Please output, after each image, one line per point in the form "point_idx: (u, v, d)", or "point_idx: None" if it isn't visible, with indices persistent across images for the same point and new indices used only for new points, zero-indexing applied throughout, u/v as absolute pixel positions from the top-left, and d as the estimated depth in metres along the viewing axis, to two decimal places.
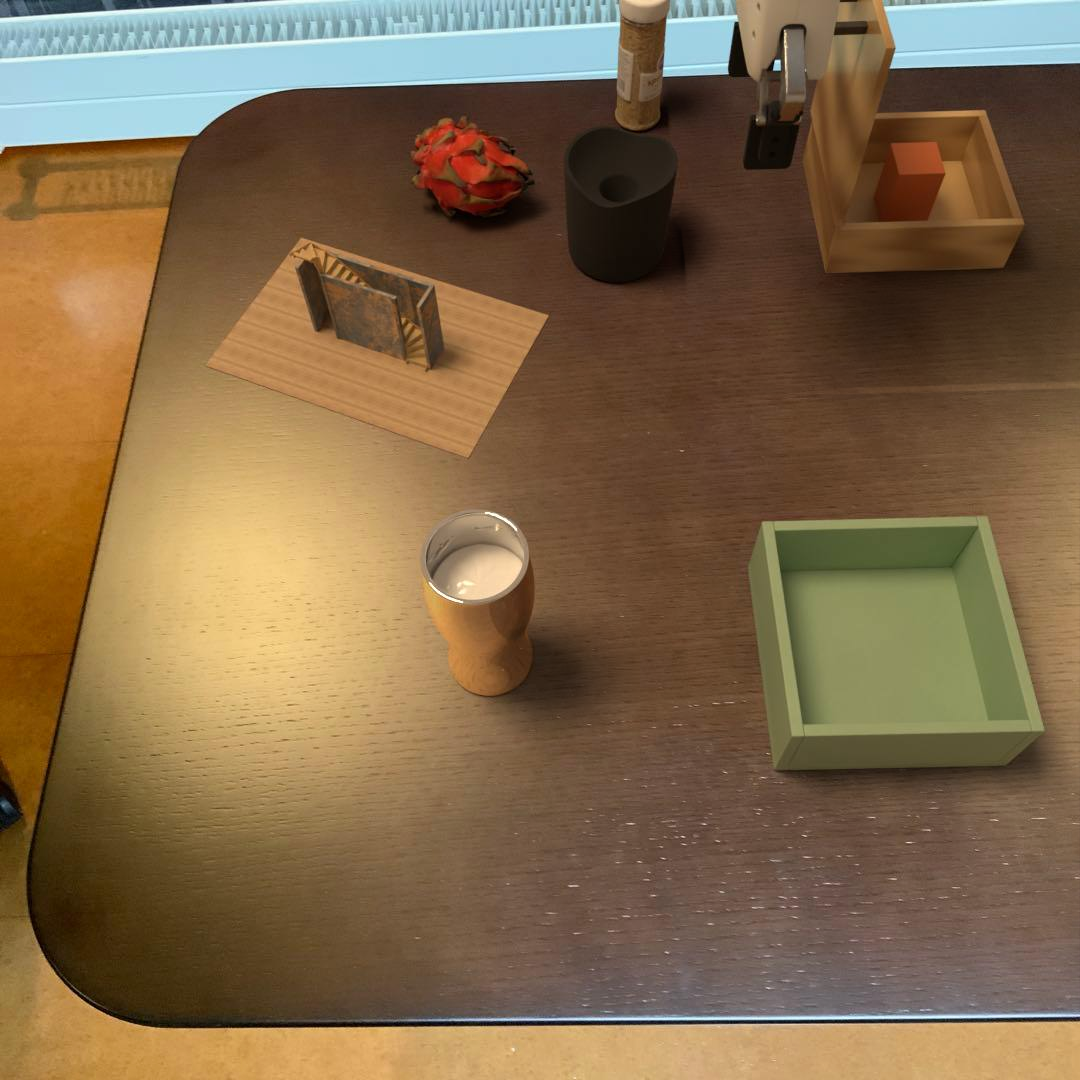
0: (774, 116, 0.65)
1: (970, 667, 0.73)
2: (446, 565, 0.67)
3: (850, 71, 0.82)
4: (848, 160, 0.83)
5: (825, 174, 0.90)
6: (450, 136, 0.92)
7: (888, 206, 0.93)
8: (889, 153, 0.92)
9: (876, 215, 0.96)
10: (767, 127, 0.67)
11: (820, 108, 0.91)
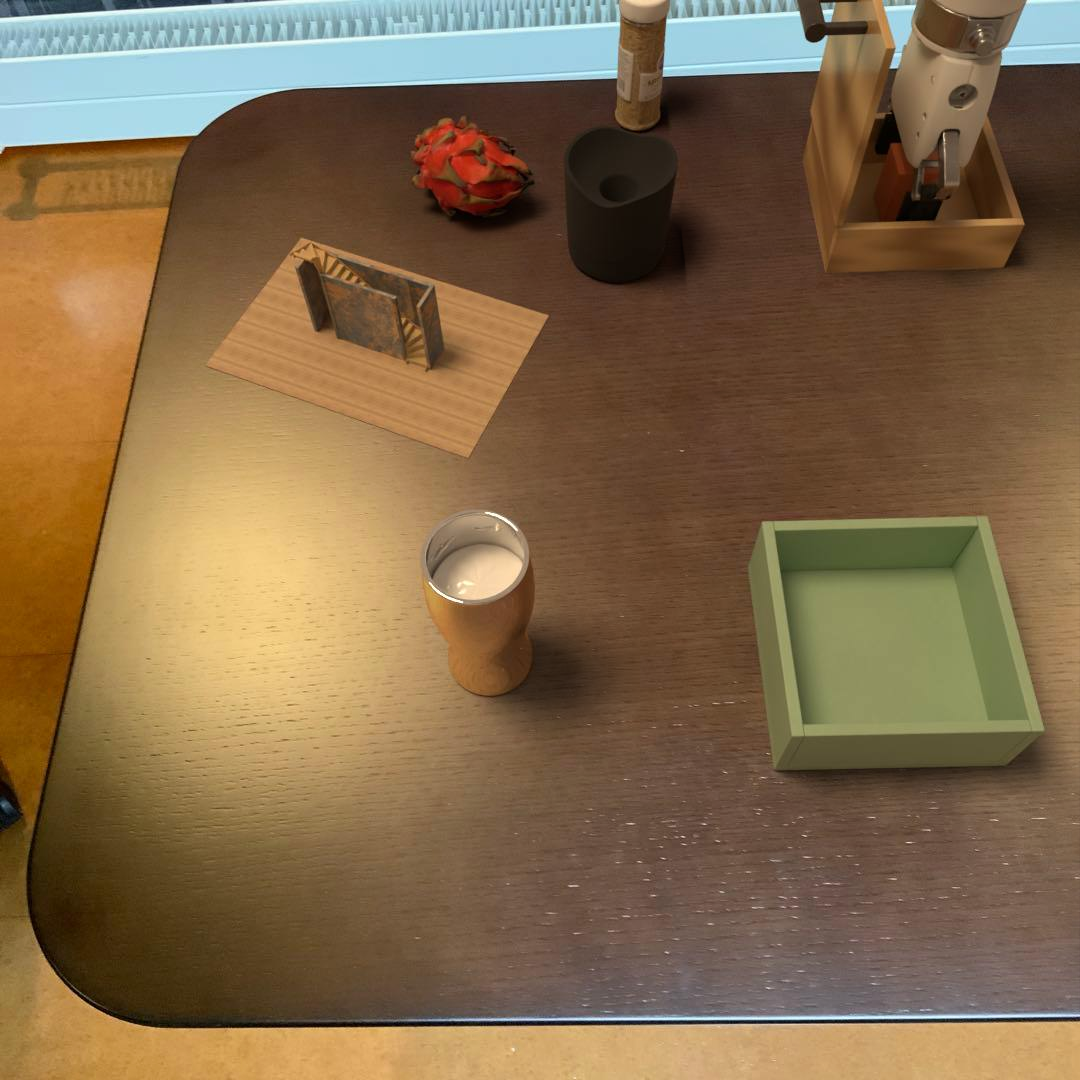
0: (930, 195, 0.85)
1: (970, 667, 0.73)
2: (446, 565, 0.67)
3: (850, 71, 0.82)
4: (848, 160, 0.83)
5: (825, 174, 0.90)
6: (450, 136, 0.92)
7: (888, 206, 0.93)
8: (889, 153, 0.92)
9: (876, 215, 0.96)
10: (920, 201, 0.87)
11: (820, 108, 0.91)
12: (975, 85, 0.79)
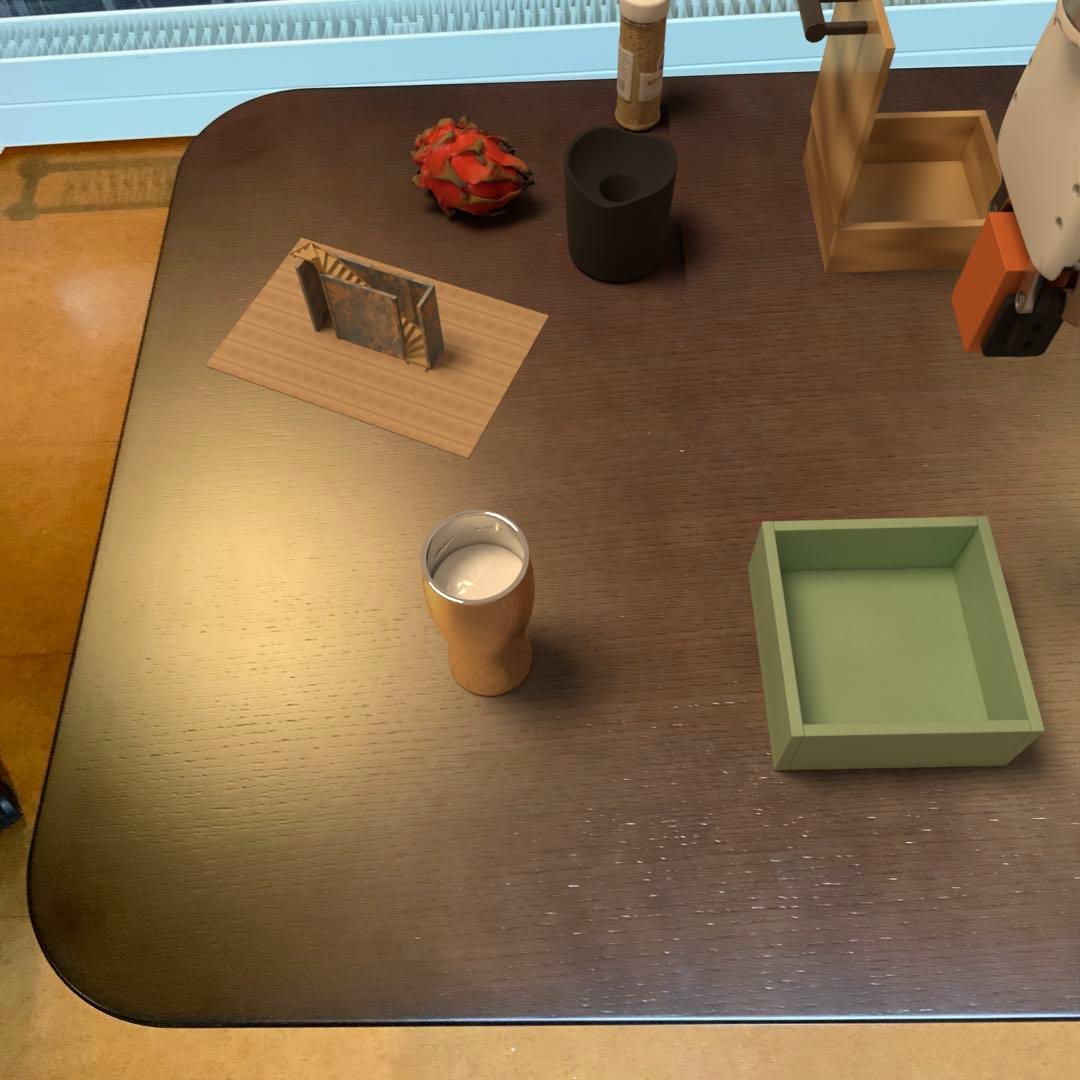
0: (1054, 309, 0.48)
1: (970, 667, 0.73)
2: (446, 565, 0.67)
3: (850, 71, 0.82)
4: (848, 160, 0.83)
5: (825, 174, 0.90)
6: (450, 136, 0.92)
7: (982, 320, 0.53)
8: (985, 229, 0.53)
9: (876, 215, 0.96)
10: (1031, 314, 0.51)
11: (820, 108, 0.91)
12: None
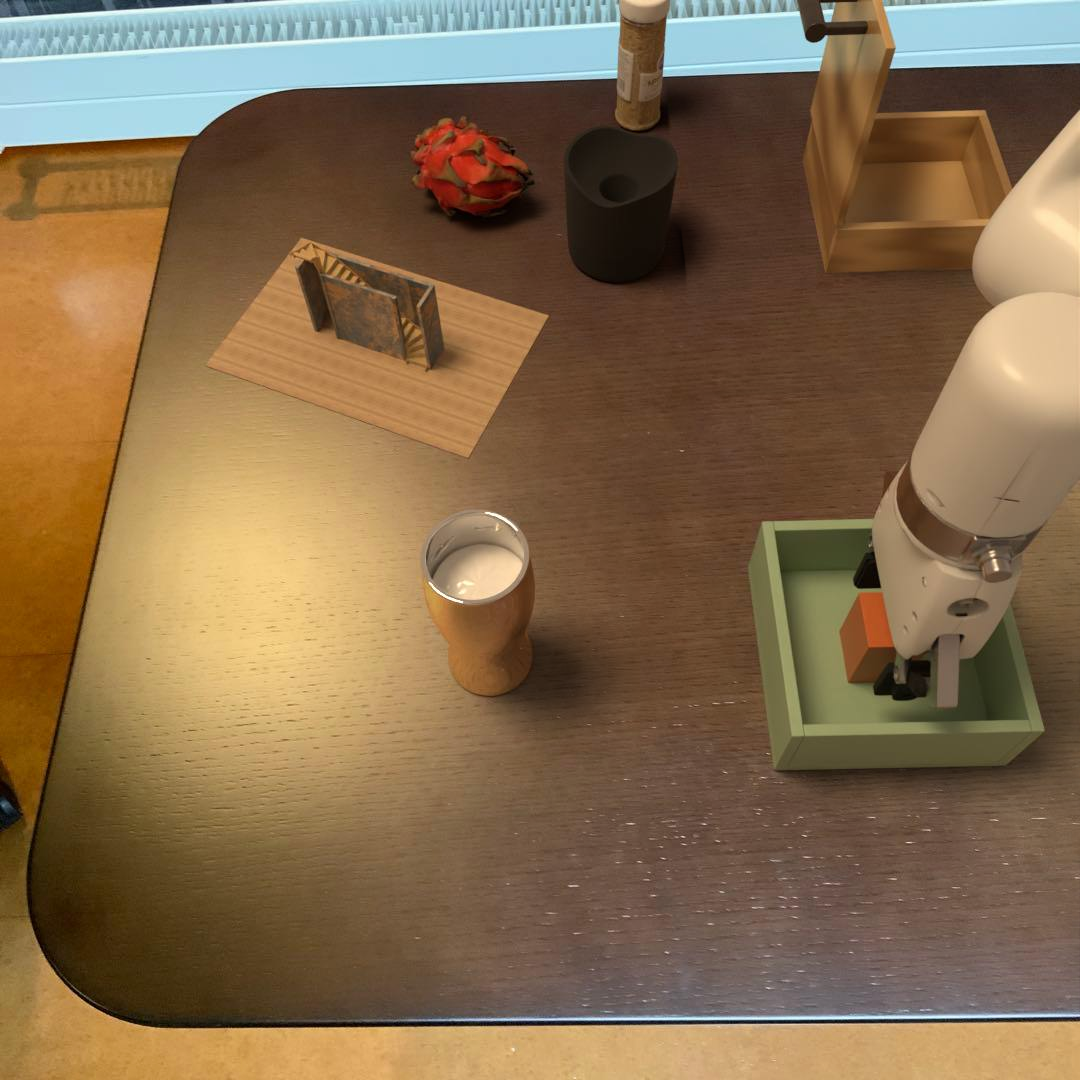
0: (918, 693, 0.62)
1: (970, 667, 0.73)
2: (446, 565, 0.67)
3: (850, 71, 0.82)
4: (848, 160, 0.83)
5: (825, 174, 0.90)
6: (450, 136, 0.92)
7: (856, 668, 0.71)
8: (857, 603, 0.70)
9: (876, 215, 0.96)
10: None
11: (820, 108, 0.91)
12: (985, 599, 0.56)
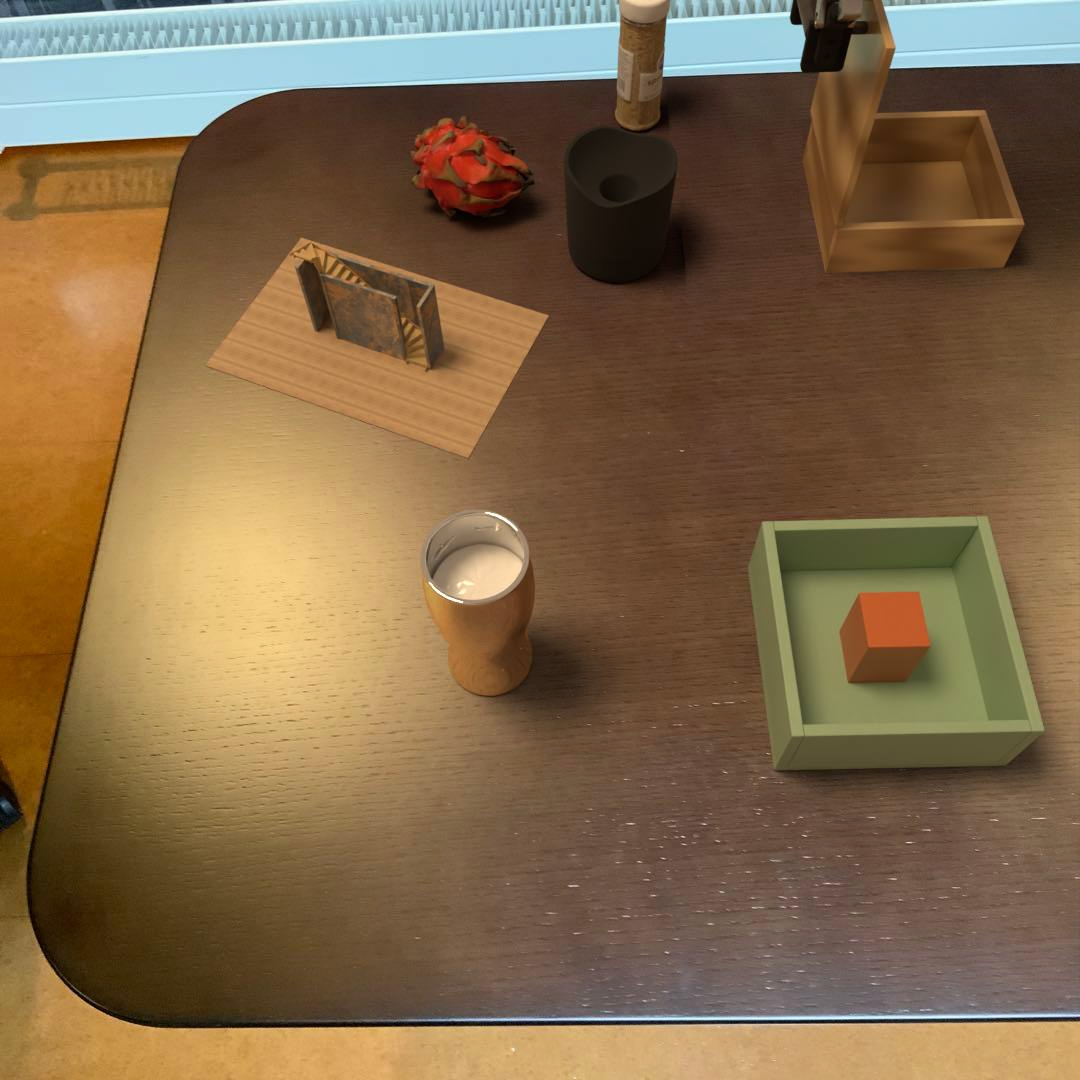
0: (832, 16, 0.73)
1: (970, 667, 0.73)
2: (446, 565, 0.67)
3: (850, 71, 0.82)
4: (848, 160, 0.83)
5: (825, 174, 0.90)
6: (450, 136, 0.92)
7: (856, 668, 0.71)
8: (857, 603, 0.70)
9: (876, 215, 0.96)
10: (824, 30, 0.76)
11: (820, 108, 0.91)
12: None
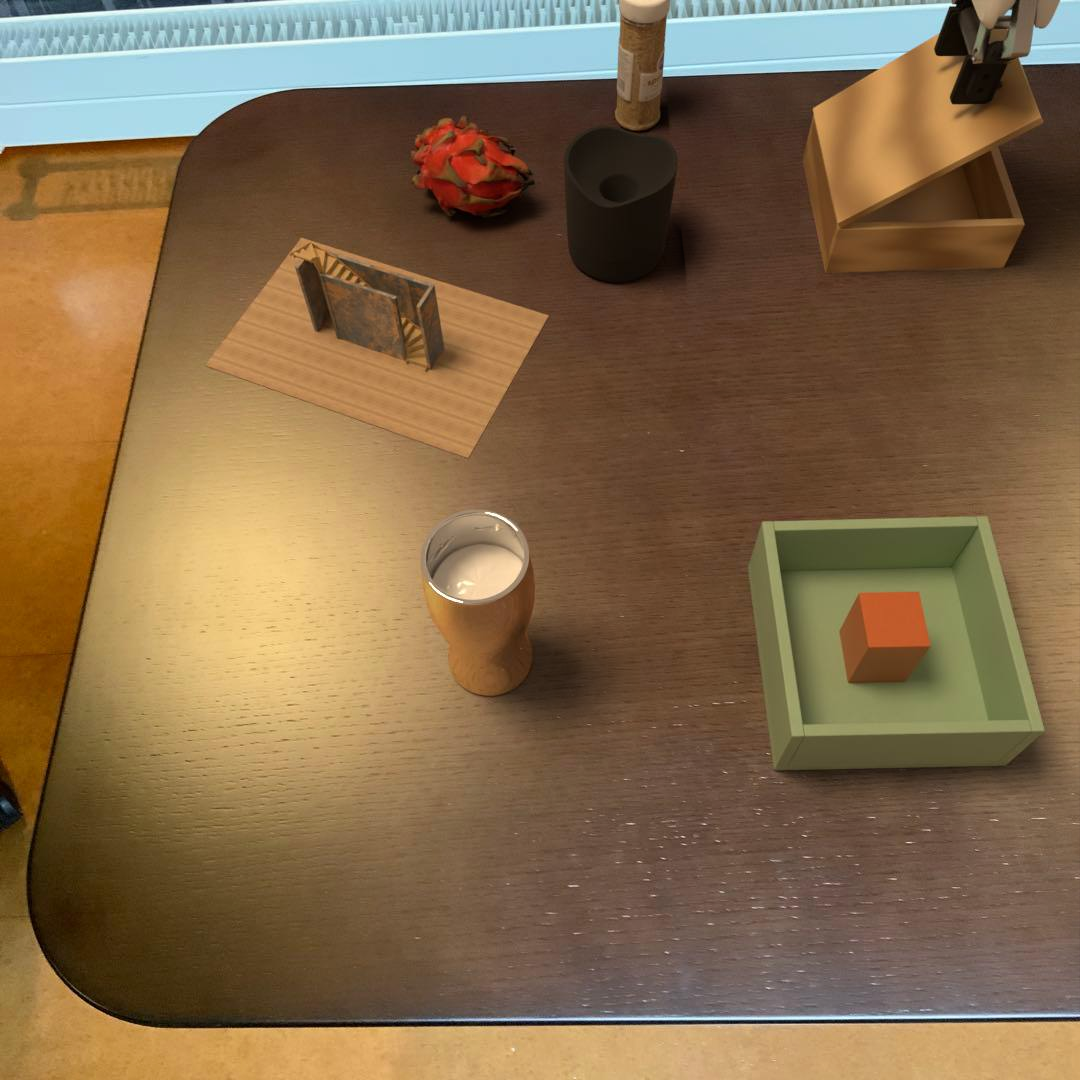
0: (996, 54, 0.76)
1: (970, 667, 0.73)
2: (446, 565, 0.67)
3: (939, 107, 0.85)
4: (901, 178, 0.85)
5: (830, 173, 0.90)
6: (450, 136, 0.92)
7: (856, 668, 0.71)
8: (857, 603, 0.70)
9: (876, 215, 0.96)
10: (982, 65, 0.79)
11: (843, 114, 0.92)
12: None
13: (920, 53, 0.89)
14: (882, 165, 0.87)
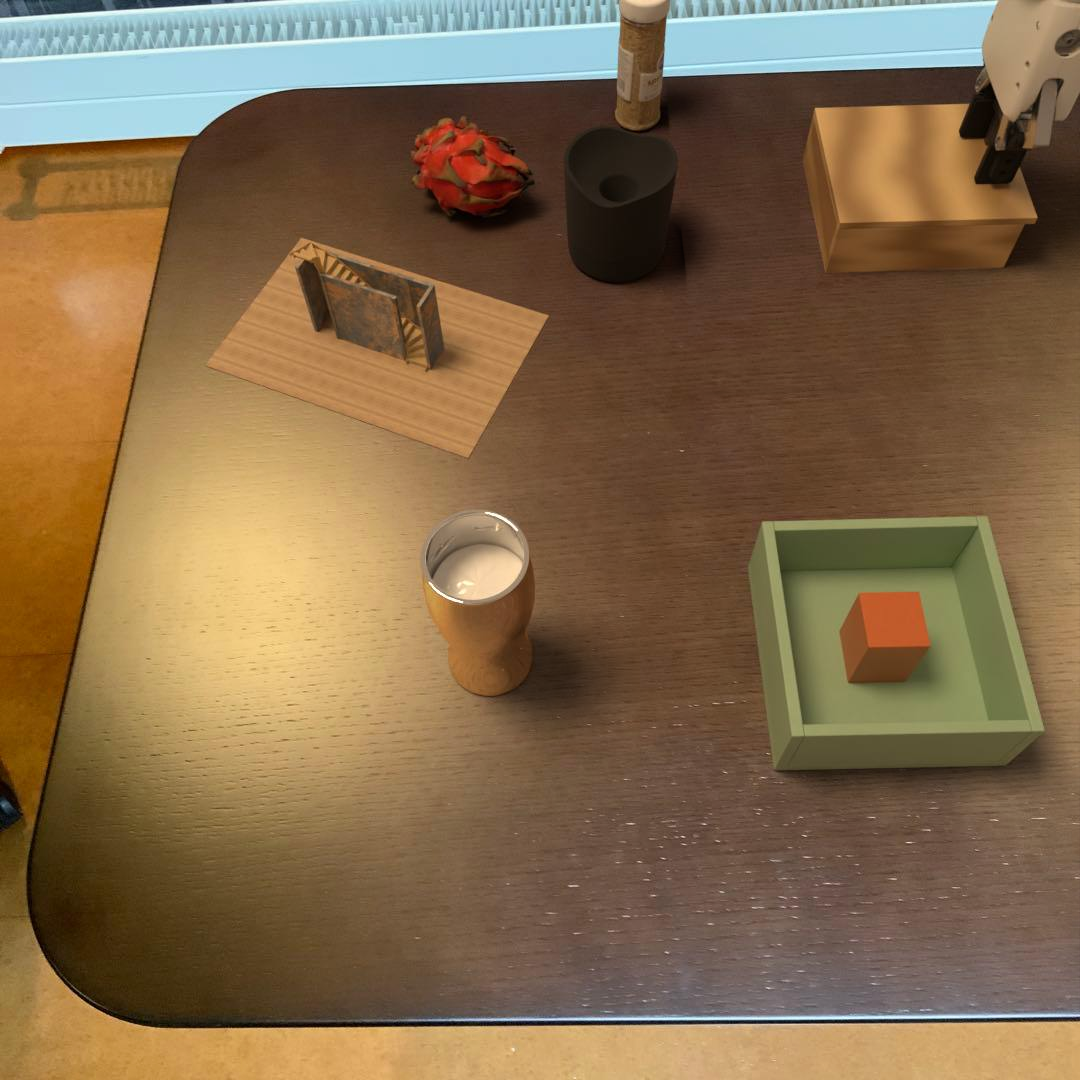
0: (1018, 143, 0.83)
1: (970, 667, 0.73)
2: (446, 565, 0.67)
3: (944, 166, 0.90)
4: (906, 210, 0.88)
5: (833, 174, 0.90)
6: (450, 136, 0.92)
7: (856, 668, 0.71)
8: (857, 603, 0.70)
9: None
10: (1004, 151, 0.85)
11: (847, 128, 0.93)
12: None
13: (926, 112, 0.94)
14: (887, 191, 0.89)
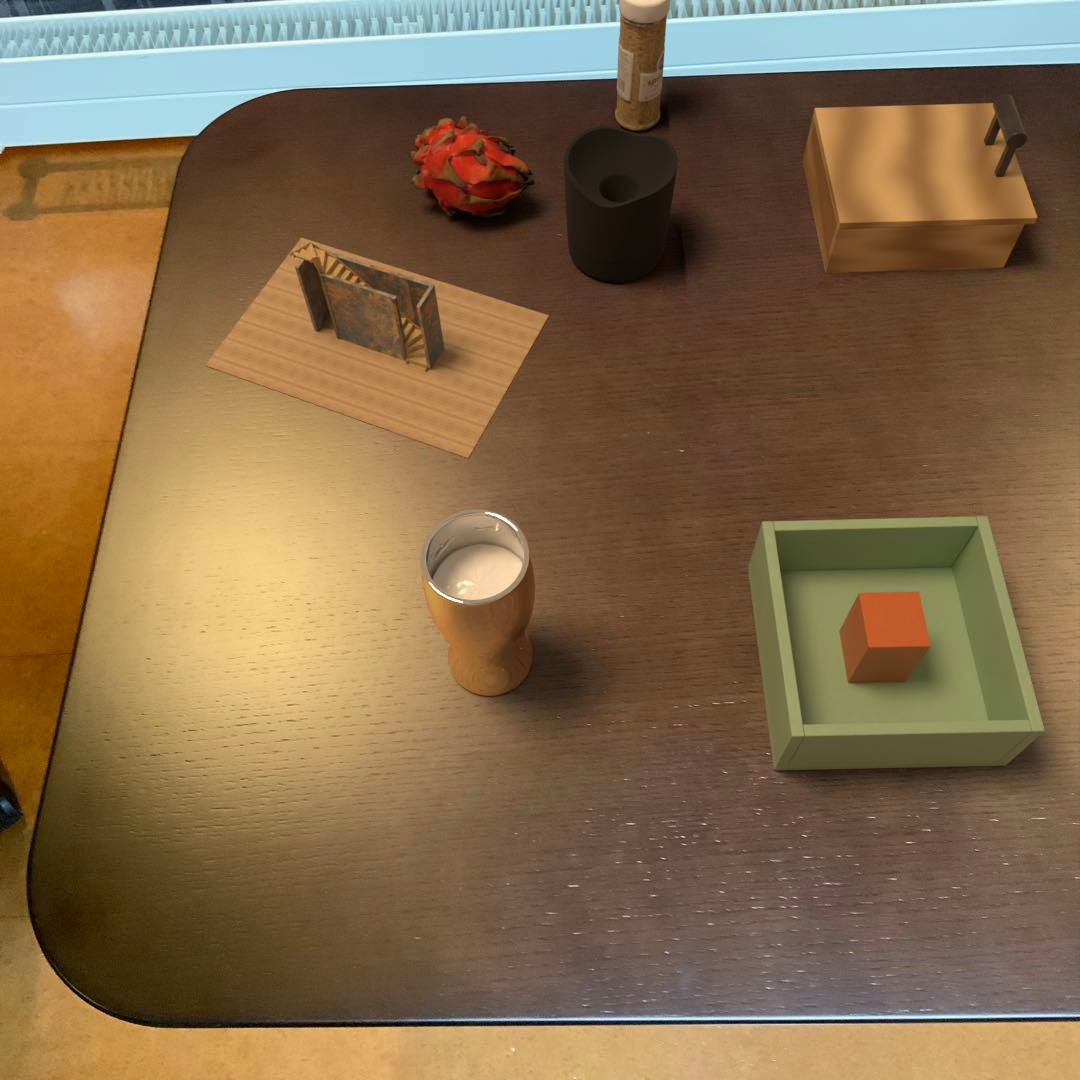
0: None
1: (970, 667, 0.73)
2: (446, 565, 0.67)
3: (944, 166, 0.90)
4: (906, 210, 0.88)
5: (833, 174, 0.90)
6: (450, 136, 0.92)
7: (856, 668, 0.71)
8: (857, 603, 0.70)
9: None
10: None
11: (847, 128, 0.93)
12: None
13: (926, 112, 0.94)
14: (887, 191, 0.89)
